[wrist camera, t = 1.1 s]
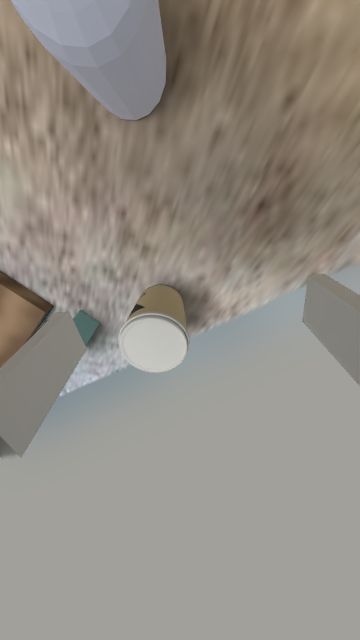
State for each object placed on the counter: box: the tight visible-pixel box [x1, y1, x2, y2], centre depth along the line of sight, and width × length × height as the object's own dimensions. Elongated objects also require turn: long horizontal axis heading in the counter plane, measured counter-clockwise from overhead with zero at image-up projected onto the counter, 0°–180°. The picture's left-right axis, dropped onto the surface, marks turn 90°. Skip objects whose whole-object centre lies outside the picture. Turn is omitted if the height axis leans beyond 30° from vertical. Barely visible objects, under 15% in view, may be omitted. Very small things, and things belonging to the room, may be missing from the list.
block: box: [73, 310, 100, 346], centre depth 37 cm, size 4×7×11 cm, turn 138°
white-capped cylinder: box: [118, 285, 190, 372], centre depth 34 cm, size 9×9×12 cm
